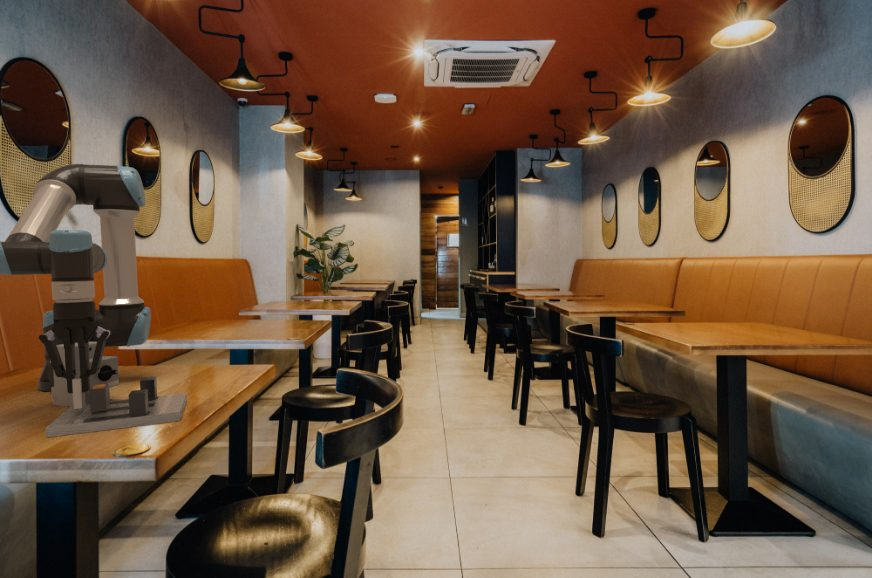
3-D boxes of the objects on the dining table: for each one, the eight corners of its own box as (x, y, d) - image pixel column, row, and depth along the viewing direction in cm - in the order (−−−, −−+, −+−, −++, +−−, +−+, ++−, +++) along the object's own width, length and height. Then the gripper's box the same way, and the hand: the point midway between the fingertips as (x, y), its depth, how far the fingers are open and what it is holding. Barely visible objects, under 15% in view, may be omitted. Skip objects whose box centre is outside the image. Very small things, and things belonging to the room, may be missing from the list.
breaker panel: (72, 413, 114) (71, 384, 114) (186, 400, 123) (185, 373, 123) (46, 437, 98) (44, 403, 97) (179, 420, 107) (178, 389, 107)
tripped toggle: (94, 408, 110) (93, 384, 109) (110, 406, 111) (109, 383, 111) (90, 412, 106) (89, 388, 106) (106, 410, 108) (105, 386, 107)
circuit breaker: (99, 407, 119) (96, 347, 118) (52, 405, 121) (49, 346, 121) (125, 399, 126) (122, 342, 125) (79, 397, 129) (76, 341, 128)
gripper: (30, 303, 100) (36, 415, 101) (105, 300, 105) (110, 407, 106) (43, 301, 107) (49, 406, 108) (113, 298, 112) (118, 399, 113)
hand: (79, 406), depth 107 cm, fingers closed
